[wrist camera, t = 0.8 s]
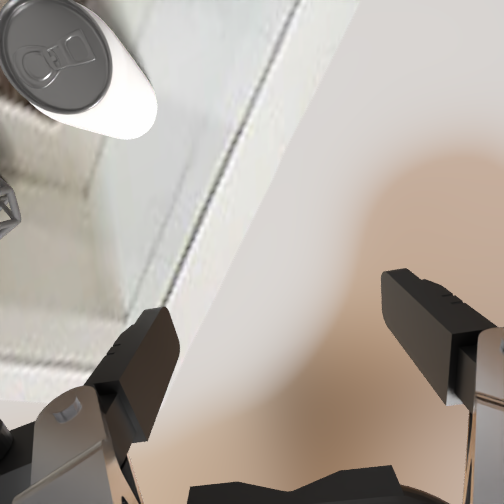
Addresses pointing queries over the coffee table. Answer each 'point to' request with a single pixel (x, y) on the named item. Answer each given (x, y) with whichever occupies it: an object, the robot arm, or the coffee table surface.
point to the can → (74, 68)
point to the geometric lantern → (14, 213)
